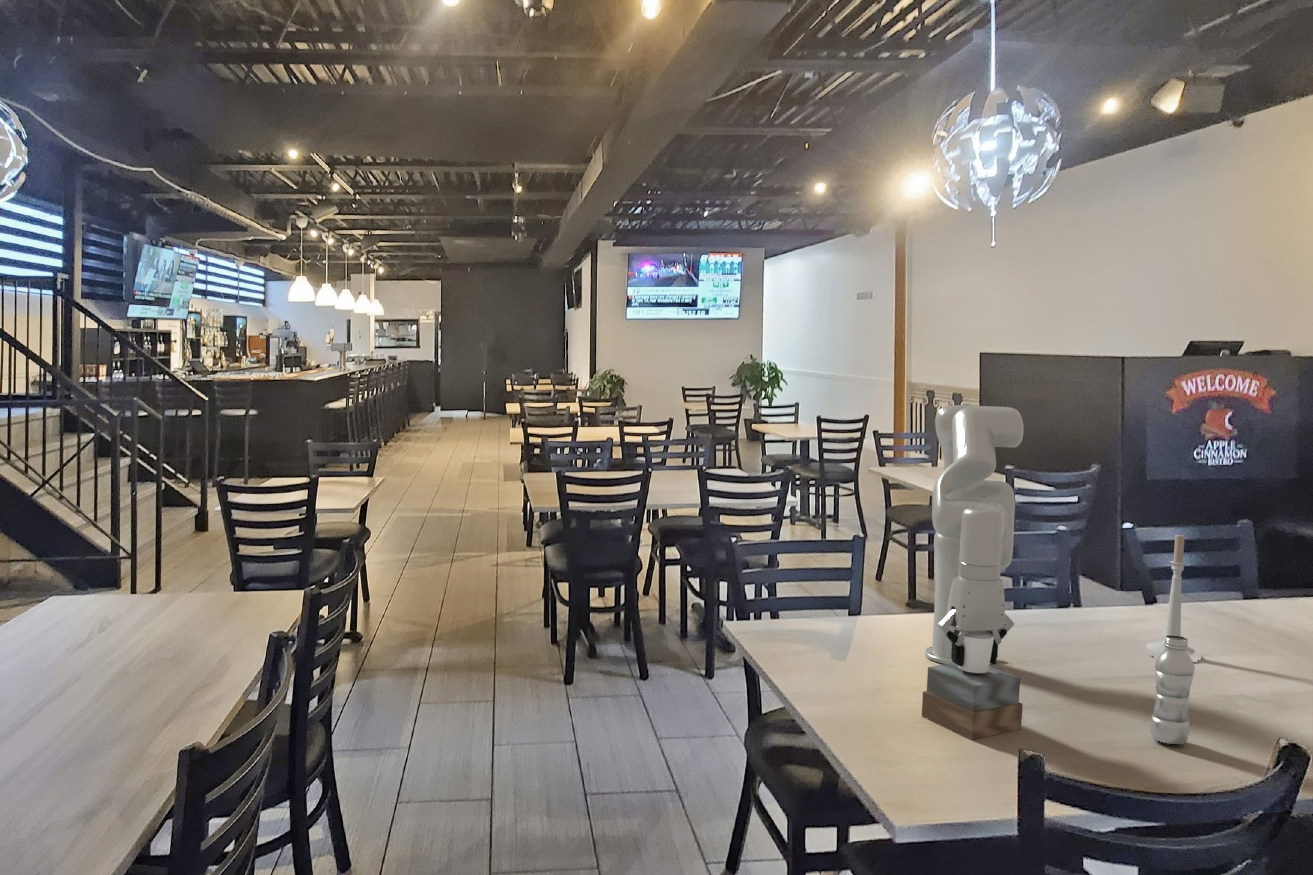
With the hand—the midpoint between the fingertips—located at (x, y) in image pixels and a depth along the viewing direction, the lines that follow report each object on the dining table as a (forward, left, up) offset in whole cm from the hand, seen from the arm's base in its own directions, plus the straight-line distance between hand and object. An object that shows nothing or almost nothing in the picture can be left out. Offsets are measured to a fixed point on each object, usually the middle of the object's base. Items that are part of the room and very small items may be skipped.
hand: (973, 662), depth 188 cm
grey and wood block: (0, 0, -12) cm, 12 cm away
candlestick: (-74, -33, -12) cm, 82 cm away
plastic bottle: (-32, +15, -12) cm, 37 cm away
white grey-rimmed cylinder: (0, 0, -1) cm, 1 cm away
